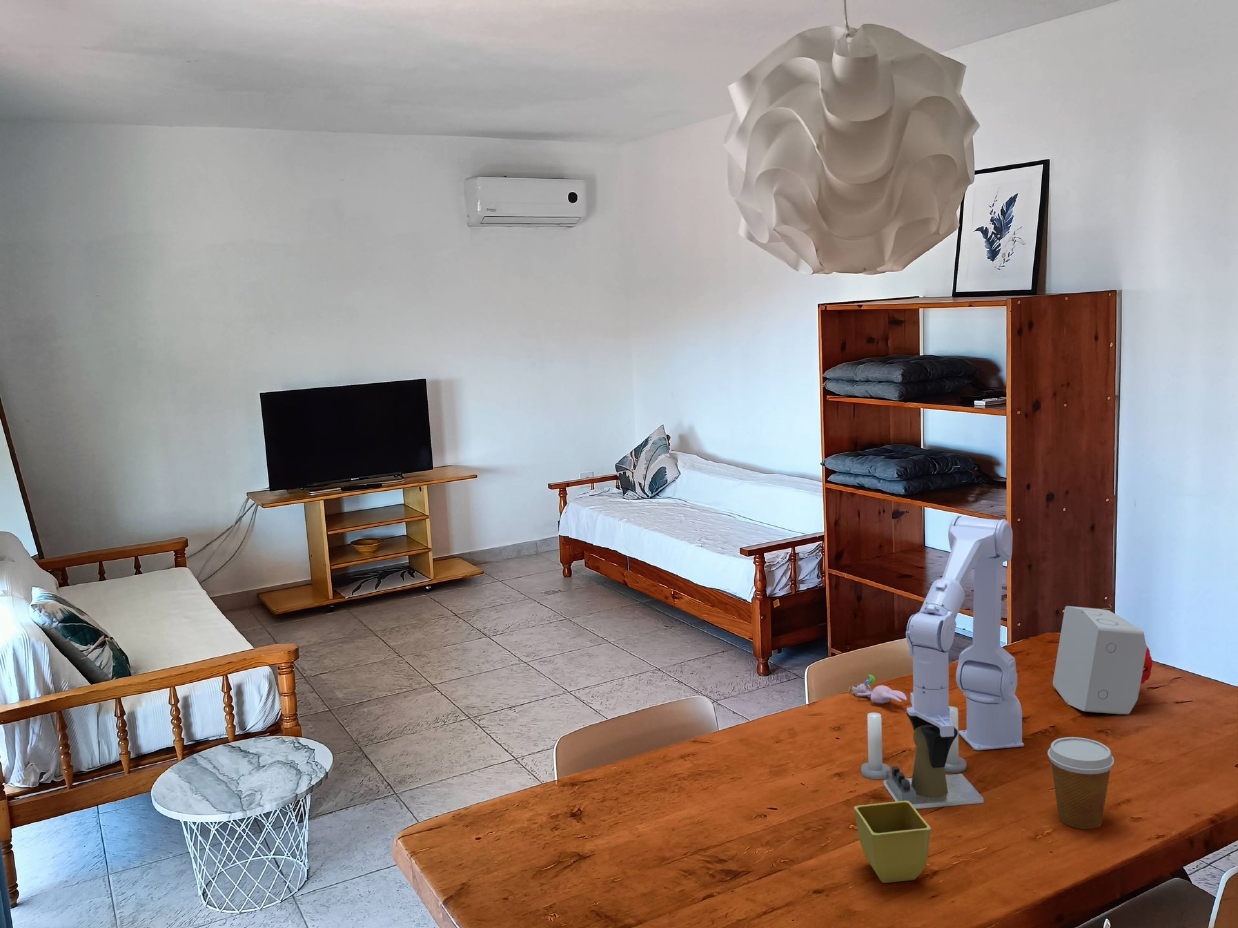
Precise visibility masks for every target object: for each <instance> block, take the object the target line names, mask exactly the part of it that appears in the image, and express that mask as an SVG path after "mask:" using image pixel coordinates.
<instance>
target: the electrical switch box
mask: <svg viewBox="0 0 1238 928" xmlns="http://www.w3.org/2000/svg"><path fill="white" fill-rule="evenodd" d="M1146 643H1147V642H1146V638H1145V632H1144V630H1142V629H1141V628H1139V627H1138V626H1136V625H1134V624H1133V623H1131V622H1129V621H1127V620H1126V619H1124V618H1122V617H1121V616H1120V615H1117V614H1116V613H1114V612H1112V611H1111V610H1108V609H1104V608H1103V609H1102V608H1094V607H1092V608H1091V607H1084V606H1083V607H1080V606H1071V605H1066V606H1065V607H1064V612H1063V618H1062V624H1061V630H1060V637H1059V642H1058V648H1057V654H1056V661H1055V666H1054V672H1053V673H1054V674H1053V679H1052V685H1053V687H1054V689H1056V691H1057V693H1058V694H1059V695H1060V696H1061V698H1062V699H1063V700H1064V702H1065V703H1066V704H1067V705H1068V706H1072V707H1073V708H1076V709H1078V710H1080V711H1082V712H1087V713H1088V712H1089V713H1103V714H1114V715H1130V714H1131V711H1133V708H1134V707H1135V705H1136V703H1137V701H1138V699H1139V695H1140V690H1141V689H1140V688H1141V684H1145V683H1146V681H1148V680H1149V679H1150V677H1151V675H1152V673H1151V672H1152V668H1153V657H1152V656H1151V651H1150V648H1149V647H1148V646H1147V644H1146Z"/></svg>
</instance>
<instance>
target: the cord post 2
mask: <svg viewBox="0 0 1238 928" xmlns="http://www.w3.org/2000/svg"><path fill="white" fill-rule="evenodd" d="M949 708H950V713H951V722H952V724H953V725H954V727H955V728H956V729H957V731H958V732H959V709H958V707H956V706H950V705H949ZM944 768H945V773H949V772H950V774H961V773H964V772H965V771H966V770H967V760H966V759H964V758H963V757H960V756H959V734H958V735H957V737H956V738H955V739H954V741H953V743H952V745H951V747H950V750H949V753H948V757H947V761H946V764H945V767H944Z"/></svg>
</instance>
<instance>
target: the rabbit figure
mask: <svg viewBox="0 0 1238 928" xmlns="http://www.w3.org/2000/svg"><path fill="white" fill-rule="evenodd" d="M868 677H869V679H866V680H865V681H864V682H863V683H861V682H860V683H858V682H856V683H857V685H856V686H854V685H851V686H850V685H848V692H849V694H851V692H853V695H854V696H855V697H859V698H861V697H868V698H870V701H872V702H873V703H876V704H881V705H883V704H885V703H888V702H891V700H895V701H897V702H900V703H902V700H905V701H908V698H907V695H906V694H905V692H902V691H900V690H894V689H891V688H890V687H889V686H886V685H883V684H882V685H877V686H875V687H874V688H873V689H872V688H871V686H872V685H874V684H875V683H876V677H875V676H874V675H872V674H868ZM870 685H871V686H870ZM901 699H902V700H901Z"/></svg>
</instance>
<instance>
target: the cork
mask: <svg viewBox="0 0 1238 928" xmlns="http://www.w3.org/2000/svg"><path fill="white" fill-rule="evenodd" d="M922 727H933V726H932V725H923V726H919V727H917V728H916V730H915V731H914V730H913V733H912V735H913V737H912V739H913V743H914V745H915V747H916V749H915V755H914V762H913V769H912V776H911V778H912V783H911V785H912V787H913V788H914V789H915V791H916V794H918V795H921V796H925V797H941V796H944V795H945V794H946V793H947V792H948V789H947V782H946V775H947V774H946V772H945V768H944V767H941V768H933V767H932V766H931V763H930V759H929V751H928V746H927V742H926V739H925V737H924V735H923V733H922V731H921V728H922Z"/></svg>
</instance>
